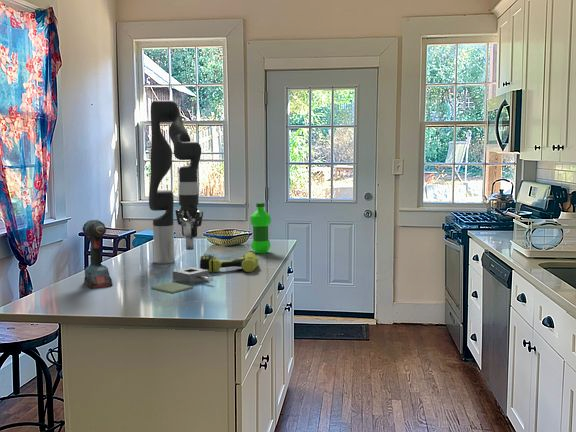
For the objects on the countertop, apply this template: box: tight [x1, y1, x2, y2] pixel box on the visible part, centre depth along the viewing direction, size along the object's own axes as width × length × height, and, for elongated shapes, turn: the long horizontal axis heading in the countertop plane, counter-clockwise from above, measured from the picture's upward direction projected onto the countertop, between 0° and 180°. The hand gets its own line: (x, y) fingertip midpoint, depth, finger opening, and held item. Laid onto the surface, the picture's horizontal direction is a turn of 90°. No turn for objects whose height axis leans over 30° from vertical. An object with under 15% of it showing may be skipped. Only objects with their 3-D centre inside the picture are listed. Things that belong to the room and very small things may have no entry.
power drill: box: [82, 219, 114, 289], centre depth 220 cm, size 9×23×25 cm, turn 27°
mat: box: [150, 281, 194, 294], centre depth 215 cm, size 12×10×1 cm
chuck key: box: [181, 221, 195, 251], centre depth 225 cm, size 5×7×11 cm
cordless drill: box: [199, 250, 259, 274], centre depth 252 cm, size 7×25×25 cm
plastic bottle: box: [250, 202, 272, 254], centre depth 286 cm, size 10×10×25 cm
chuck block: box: [172, 266, 214, 286], centre depth 225 cm, size 17×10×4 cm, turn 52°
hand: (189, 236), depth 225 cm, fingers closed on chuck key, 4 cm apart
